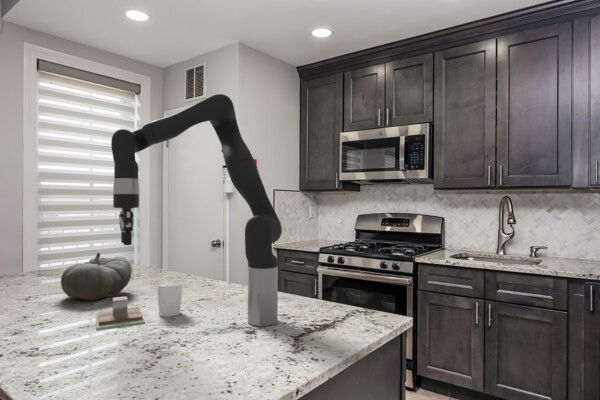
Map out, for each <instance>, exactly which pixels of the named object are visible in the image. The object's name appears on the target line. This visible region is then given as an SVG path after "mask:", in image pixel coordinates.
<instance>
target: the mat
mask: <svg viewBox="0 0 600 400" xmlns="http://www.w3.org/2000/svg"><path fill="white" fill-rule="evenodd" d="M139 310H140V308H139ZM140 312H141V310H140ZM141 313H142V312H141ZM95 316H96V317H95V318H96V321H95V322H96V330H97V331H99V330H106V329H113V328H120V327H121V328H122V327H127V326H129V327H130V326H134V325H135V326H136V325H144V324H145V323H146V320H145V318H144V317H143V320H138V321H131V322H123V323H115V324H108V325H100V326H99V321H98V312H97V313H95Z"/></svg>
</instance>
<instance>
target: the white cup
mask: <svg viewBox="0 0 600 400" xmlns="http://www.w3.org/2000/svg"><path fill="white" fill-rule="evenodd" d="M156 286H157V305H158V315H159V316H160V317H165V318H166V317H169V318H170V317H174V316H178V315H180V314H181V308H182V297H183V282H182V281H162V282H159V283H157V285H156Z"/></svg>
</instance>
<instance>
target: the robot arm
mask: <svg viewBox="0 0 600 400" xmlns="http://www.w3.org/2000/svg"><path fill="white" fill-rule="evenodd" d="M234 106H235V105H234V103H233V101H232V99H231V98H230V97H229V96H227V95H225V94H223V93H218V94H214V95H211V96H208V97H207V98H205V99H203V100H201V101H199V102H198V103H195V104H193V105H191V106H190V107H187V108H185V109H183V110H181V111H178V112H176V113H173V114H171V115H168V116H165V117H162V118H159V119H156V120H153V121H152V120H151V121H150V122H147V123H145V124H143V125H142V127H141V128H139V129H136V130H133V131H131V130H129V129H125V128H120V129H118V130H115V131H114V133H113V134H112V137H111V142H110V144H111V152H112V158H113V159H112V160H113V163H114V167H113V168H114V173H113V174H114V177H113V178H114V179H113V184H112V185H113V189H112V190H113V193H112V195H113V197H112V198H113V200H112V202H113V203H112V205H113V208H114V209H121V210H120V212H119V215H118V219H119V230H120V233H121V235H120V236H121V237H120V238H121V239H120V242H121V243H122V244H123V245H124V246H131V245H132V242H133V241H132V238H133V237H132V235H133V234H132V233H133V231H134V219H135V215H134V211H132V209H138V208H140V183H139V164H138V162H137V161H136V153H139V152H141V151H143V150H145V149H147V148H150V147H151V146H153V145H157V144H160V143H162V142H163V143H164V142H166V141H169V140H172V139H175V138H176V137H178V136H180V135H181V134H184V132H185V131H187V130H189V129H190V128H192V127H194V126H195V125H198V124H202V123H205V122H209V123H210V124H211V126H212V128H213V130H214V131H215V134H216V136H217V138H218V140H219V143H220V145H221V146H220V147H221V150H222V155H223V160H224V164H225V167H226V171H227V173H228V175H229V178H230V181H231V182H232V185H233V186H234V188H235V190H237V192H238V193H239V194H240V195H241V197H242V198H243V199H244V200H245V202H246V203H247V205H248V206H249V208H250V211H251V214H252V216H251V217H250V218H248V220H247V221H246V224H245V227H244V228H245V229H244V251H245V253H244V254H245V257H246V260H247V324H249V325H252V326H257V327H258V328H260V327H267V326H273V325H277V324H278V321H279V320H278V319H279V318H278V315H279V313H278V303H279V300H278V296H279V295H278V279H279V278H278V272H279V271H278V268H279V267H278V262H279V261H278V257H277V256H276V255H274V253H273V243H275V242H277V241H279V239H280V238H281V236H282V232H283V228H282V224H281V223H282V222H281V220H280V219H279V217H278V215H277V213H276V211H275V209H274V207H273V205H272V203H271V201H270V199H269V196H268V194H267V191H266V189H265V186H264V182H263V181H262V178H261V176H260V172H259V170H258V167H257V164H256V162H255V159H254V157H253V155H252V153H251V151H250V149H249V147H248V145H247V144H246V143H245V141H244V140H243V137H242V135H241V132H240V128H239V124H238V120H237V116H236V110H235V107H234Z"/></svg>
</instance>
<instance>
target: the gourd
mask: <svg viewBox="0 0 600 400" xmlns="http://www.w3.org/2000/svg"><path fill="white" fill-rule="evenodd" d="M132 271H133V267H132V265H131V262H130V261H129V260H128V259H127V258H126V257H124V256H119V255H118V256H114V257H103V256H101V253H100V252H97V254H96V255H95V257H94V258H92V259H90V260H89V261H87V262H84V263H75V264H73V265H70V266H68V267H67V268H66V269H65V270H64V271H63V272H62V275H61V276H60V277H61V278H60V286H61V289H62V291H63V293H64V294H65V295H66V296H67V297H69V298H71V299H74V300H86V301H90V302H91V301H97V300H100V299H103V298H107V297H111V296H115V295H118V294H119V293H120V292H122V291H123V290H124V289H125V288H126V287H127V286H128V285H129V282H130V280H131V277H132V274H133V273H132Z"/></svg>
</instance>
